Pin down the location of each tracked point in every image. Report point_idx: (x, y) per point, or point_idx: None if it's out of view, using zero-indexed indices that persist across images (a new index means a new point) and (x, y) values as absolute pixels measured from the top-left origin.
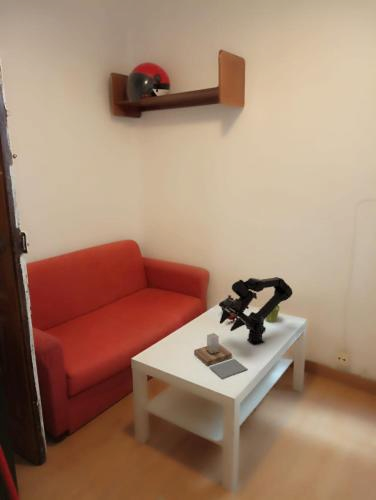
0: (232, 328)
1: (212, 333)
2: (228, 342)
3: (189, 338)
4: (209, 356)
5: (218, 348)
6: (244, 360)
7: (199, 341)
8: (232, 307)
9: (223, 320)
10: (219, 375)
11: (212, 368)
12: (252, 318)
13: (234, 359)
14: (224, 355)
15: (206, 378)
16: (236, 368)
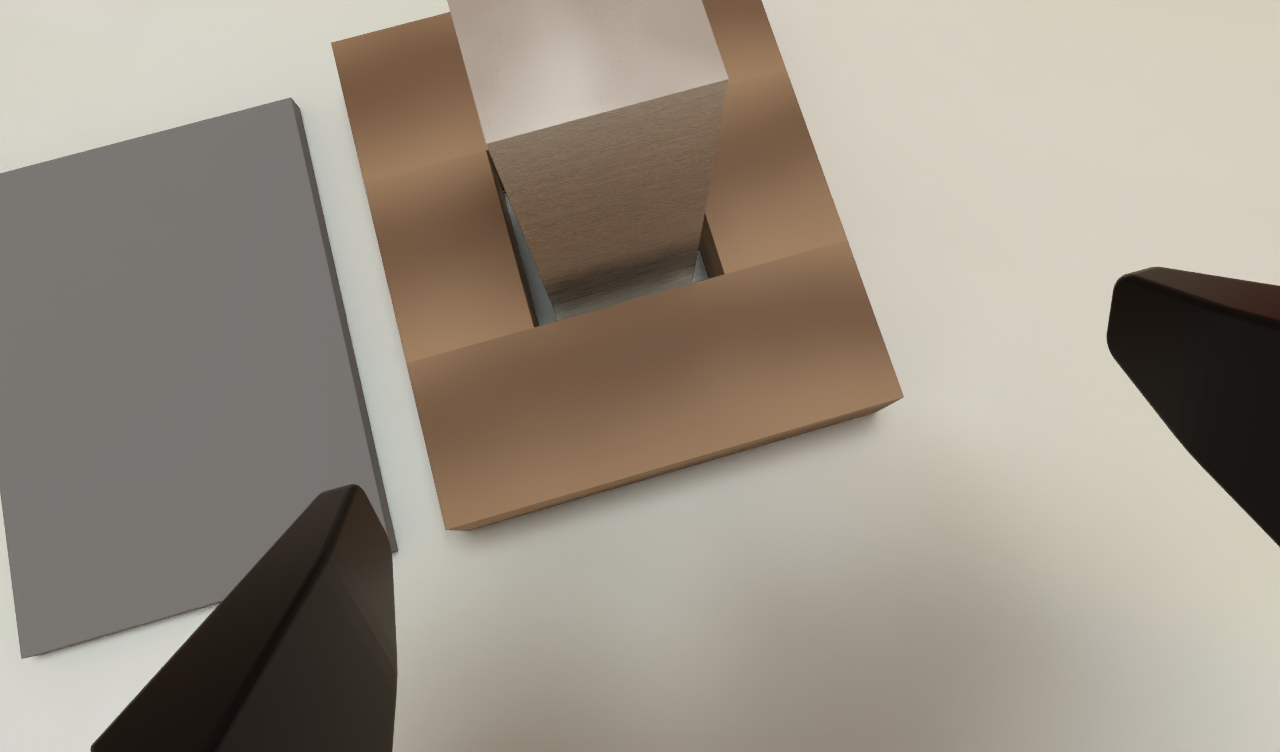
0: (263, 585)
1: (711, 32)
2: (1012, 657)
3: (1261, 35)
4: (465, 116)
5: (539, 272)
6: None
7: (1132, 164)
8: None
9: (1256, 450)
10: (35, 173)
11: (241, 129)
12: None
13: None
14: (417, 369)
15: (85, 12)
16: (103, 480)
